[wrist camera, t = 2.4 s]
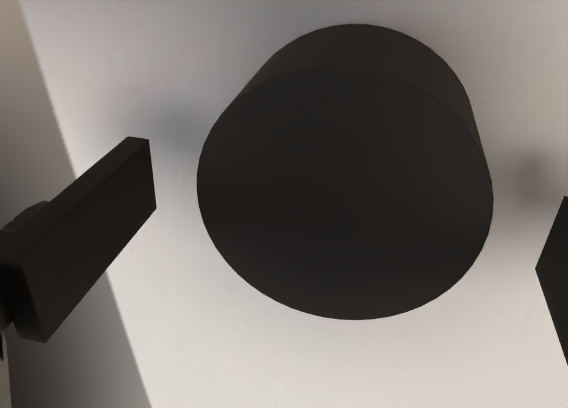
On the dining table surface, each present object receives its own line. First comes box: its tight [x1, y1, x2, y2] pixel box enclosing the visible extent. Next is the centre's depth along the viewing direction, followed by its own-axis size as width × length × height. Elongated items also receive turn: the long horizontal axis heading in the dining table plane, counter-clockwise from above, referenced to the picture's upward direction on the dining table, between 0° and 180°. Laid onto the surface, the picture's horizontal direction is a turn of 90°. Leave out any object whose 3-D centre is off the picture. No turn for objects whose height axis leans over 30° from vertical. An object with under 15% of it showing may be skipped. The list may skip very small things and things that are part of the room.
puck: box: [197, 24, 494, 320], centre depth 17 cm, size 9×9×5 cm
